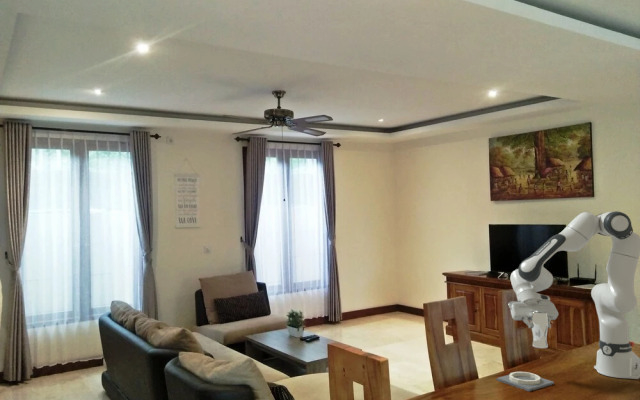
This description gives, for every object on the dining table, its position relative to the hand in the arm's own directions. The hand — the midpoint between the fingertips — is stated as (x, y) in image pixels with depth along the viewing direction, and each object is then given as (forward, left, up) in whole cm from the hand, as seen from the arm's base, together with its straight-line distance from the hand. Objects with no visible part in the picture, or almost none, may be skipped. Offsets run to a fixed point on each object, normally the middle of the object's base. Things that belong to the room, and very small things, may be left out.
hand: (540, 327), depth 215 cm
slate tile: (+11, 0, -22) cm, 24 cm away
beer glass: (0, -1, -9) cm, 9 cm away
